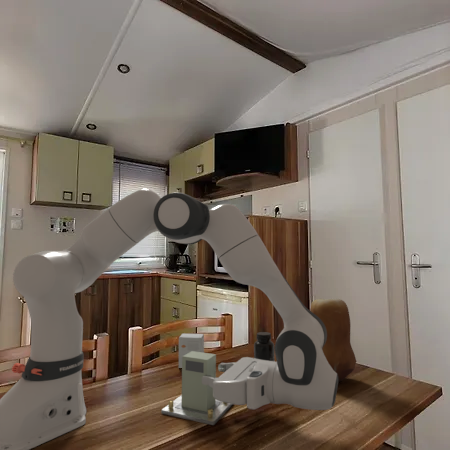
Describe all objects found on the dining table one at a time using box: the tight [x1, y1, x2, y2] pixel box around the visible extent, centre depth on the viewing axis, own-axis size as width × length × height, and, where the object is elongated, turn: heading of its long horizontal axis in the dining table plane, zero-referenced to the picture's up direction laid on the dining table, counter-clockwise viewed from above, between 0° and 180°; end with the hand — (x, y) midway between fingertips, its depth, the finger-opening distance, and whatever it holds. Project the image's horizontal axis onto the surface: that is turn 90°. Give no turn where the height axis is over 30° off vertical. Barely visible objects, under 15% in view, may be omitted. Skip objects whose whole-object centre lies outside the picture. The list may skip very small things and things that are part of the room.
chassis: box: [160, 394, 234, 426], centre depth 83 cm, size 12×14×2 cm
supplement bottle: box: [253, 331, 276, 362], centre depth 112 cm, size 7×7×12 cm
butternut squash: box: [309, 298, 357, 383], centre depth 104 cm, size 14×13×25 cm
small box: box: [178, 333, 205, 369], centre depth 115 cm, size 8×6×10 cm
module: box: [181, 351, 217, 412], centre depth 84 cm, size 5×7×12 cm
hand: (211, 372), depth 83 cm, fingers open, 8 cm apart
